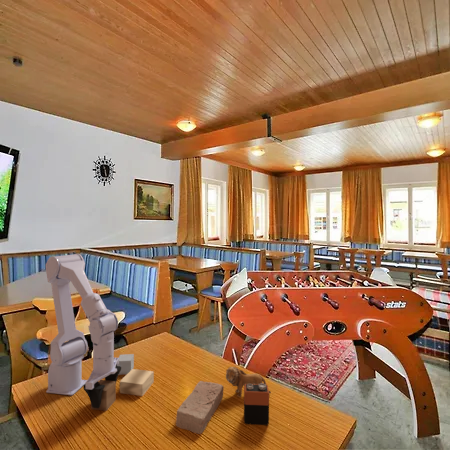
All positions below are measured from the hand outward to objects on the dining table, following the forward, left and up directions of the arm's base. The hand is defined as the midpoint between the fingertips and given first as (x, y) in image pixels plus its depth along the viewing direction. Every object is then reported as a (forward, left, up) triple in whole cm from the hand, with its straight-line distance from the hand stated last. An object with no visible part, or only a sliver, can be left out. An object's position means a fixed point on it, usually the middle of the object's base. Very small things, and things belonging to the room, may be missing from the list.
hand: (103, 399), depth 87 cm
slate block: (-3, +19, -2) cm, 19 cm away
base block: (+6, +10, -2) cm, 12 cm away
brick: (+30, +2, -2) cm, 30 cm away
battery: (+46, +1, -2) cm, 46 cm away
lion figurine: (+42, +12, -2) cm, 44 cm away
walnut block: (0, 0, -2) cm, 2 cm away
